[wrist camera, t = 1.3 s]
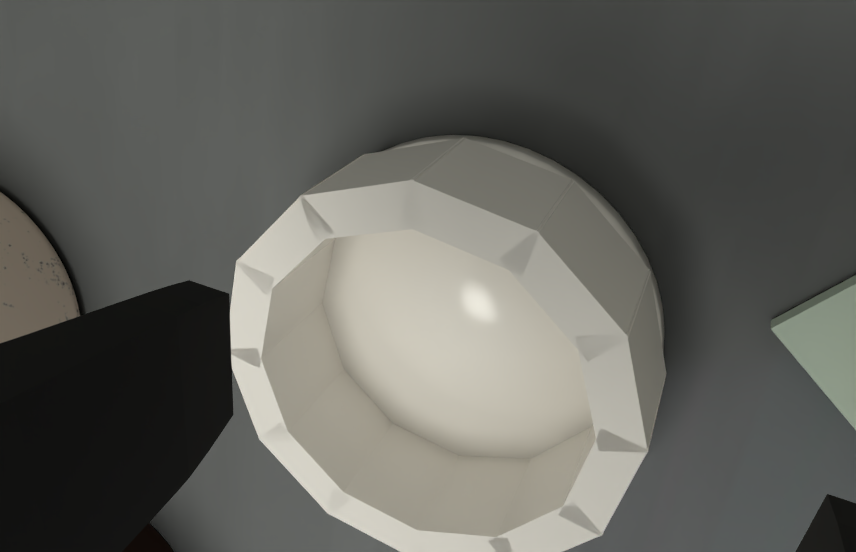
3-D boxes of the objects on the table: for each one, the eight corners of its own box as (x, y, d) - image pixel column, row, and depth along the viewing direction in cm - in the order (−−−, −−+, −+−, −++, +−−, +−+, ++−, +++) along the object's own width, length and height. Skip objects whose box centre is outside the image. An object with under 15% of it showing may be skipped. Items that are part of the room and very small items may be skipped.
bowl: (753, 372, 18) (747, 474, 15) (467, 515, 24) (418, 612, 20) (478, 45, 17) (410, 82, 14) (248, 273, 23) (163, 335, 20)
